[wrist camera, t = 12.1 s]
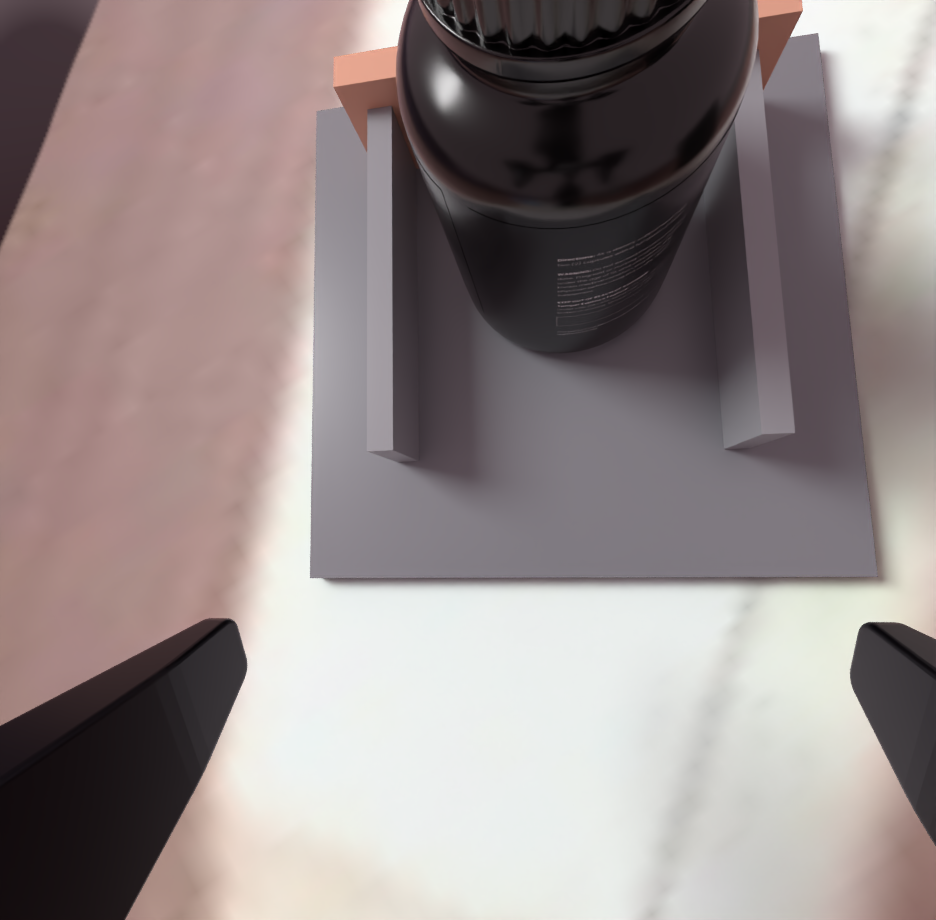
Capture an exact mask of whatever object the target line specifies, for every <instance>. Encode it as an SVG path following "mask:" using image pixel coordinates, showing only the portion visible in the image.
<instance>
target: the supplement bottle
mask: <svg viewBox="0 0 936 920" xmlns="http://www.w3.org/2000/svg"><path fill="white" fill-rule="evenodd" d="M758 34H759V13H758V1H757V0H409V2H408V5H407V9H406V12H405V15H404V18H403V22H402V26H401V31H400V35H399V41H398V48H397V57H396V88H397V99H398V104H399V108H400V113H401V117H402V120H403V123H404V126H405V130H406V133H407V136H408V139H409V142H410V145H411V148H412V150H413V153H414V155H415V158H416V161H417V163H418V166H419V168H420V171H421V173H422V176H423V179H424V181H425V184H426V186H427V189H428V191H429V194H430V196H431V199H432V202H433V204H434V207H435V209H436V212H437V214H438V217H439V220H440V222H441V225H442V227H443V230H444V232H445V235H446V237H447V240H448V243H449V245H450V248H451V250H452V253H453V255H454V258H455V260H456V263H457V266H458V268H459V271H460V273H461V276H462V278H463V281H464V283H465V286H466V288H467V290H468V292H469V295H470V297H471V299H472V301H473V303H474V305H475V307H476V308H477V310H478V312H479V313H480V314H481V316H482V317H483V318H484V320H485V321H486V322H487V323H488V324H489V325H490V326H491V327H492V328H493V329H494V330H495V331H496V332H498V333H499V334H500V335H502V336H503V337H504V338H506V339H508V340H510V341H511V342H513V343H515V344H518V345H520V346H522V347H525V348H528V349H531V350H535V351H540V352H547V353H572V352H578V351H583V350H587V349H591V348H594V347H597V346H599V345H602V344H604V343H606V342H608V341H610V340H612V339H614V338H616V337H617V336H619V335H620V334H622V333H623V332H625V331H626V330H628V329H629V328H630V327H631V326H632V325H633V324H635V323H636V322H637V321H638V320H639V319H640V318H641V317H642V315H643V314H644V313H645V312H646V310H647V309H648V308H649V307H650V305H651V303H652V302H653V300H654V299H655V297H656V296H657V294H658V292H659V290H660V288H661V286H662V284H663V282H664V280H665V278H666V276H667V273H668V271H669V269H670V267H671V264H672V262H673V260H674V258H675V255H676V253H677V251H678V248H679V246H680V244H681V242H682V239H683V237H684V235H685V232H686V230H687V228H688V226H689V223H690V221H691V219H692V216H693V214H694V212H695V210H696V207H697V205H698V203H699V200H700V198H701V196H702V194H703V191H704V189H705V187H706V184H707V182H708V180H709V178H710V175H711V173H712V171H713V168H714V166H715V164H716V162H717V159H718V157H719V155H720V152H721V150H722V148H723V146H724V143H725V141H726V139H727V136H728V134H729V132H730V129H731V127H732V125H733V123H734V120H735V118H736V115H737V113H738V110H739V108H740V105H741V103H742V100H743V98H744V94H745V92H746V89H747V86H748V83H749V81H750V77H751V74H752V70H753V66H754V63H755V57H756V51H757V45H758Z"/></svg>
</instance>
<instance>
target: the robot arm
mask: <svg viewBox="0 0 936 920" xmlns="http://www.w3.org/2000/svg"><path fill="white" fill-rule="evenodd" d="M246 672H247V658H246V655H245V651H244V648H243V644H242V640H241V637H240V633H239V630H238V626H237V624H236V623H235V621H233V620H232V619H229V618H209V619H205V620H203V621H201V622H199V623H197V624H195V625H193V626H191V627H189V628H187V629H185V630H183V631H181V632H180V633H178V634H176V635H174V636H172V637H170V638H168V639H166V640H164V641H162V642H160V643H158V644H157V645H155V646H153V647H151V648H149V649H147V650H145V651H143V652H141V653H139V654H137V655H135V656H133V657H132V658H130V659H128V660H126V661H124V662H122V663H120V664H118V665H116V666H114V667H112V668H110V669H108V670H107V671H105V672H103V673H101V674H99V675H97V676H95V677H93V678H91V679H89V680H87V681H85V682H83V683H82V684H80V685H78V686H76V687H74V688H72V689H70V690H68V691H66V692H64V693H62V694H60V695H59V696H57V697H55V698H53V699H51V700H49V701H47V702H45V703H43V704H41V705H39V706H37V707H35V708H34V709H32V710H30V711H28V712H26V713H24V714H22V715H20V716H18V717H16V718H14V719H12V720H10V721H9V722H7V723H5V724H3V725H1V726H0V920H125V919H126V917H127V916H128V914H129V912H130V910H131V908H132V906H133V904H134V903H135V901H136V899H137V897H138V895H139V893H140V891H141V890H142V888H143V886H144V884H145V882H146V880H147V878H148V877H149V875H150V873H151V871H152V869H153V867H154V865H155V863H156V862H157V860H158V858H159V856H160V854H161V852H162V850H163V849H164V847H165V845H166V843H167V841H168V839H169V837H170V836H171V834H172V832H173V830H174V828H175V826H176V824H177V823H178V821H179V819H180V817H181V815H182V813H183V811H184V810H185V808H186V806H187V804H188V802H189V800H190V798H191V797H192V795H193V793H194V791H195V789H196V787H197V785H198V783H199V781H200V779H201V777H202V775H203V773H204V771H205V769H206V767H207V764H208V762H209V760H210V758H211V756H212V753H213V751H214V749H215V746H216V744H217V742H218V739H219V737H220V735H221V732H222V730H223V728H224V725H225V723H226V721H227V718H228V716H229V714H230V711H231V709H232V707H233V704H234V702H235V700H236V697H237V695H238V693H239V690H240V688H241V686H242V683H243V681H244V679H245V676H246ZM850 679H851V684H852V687H853V690H854V692H855V694H856V696H857V698H858V700H859V702H860V704H861V706H862V708H863V710H864V712H865V714H866V716H867V718H868V720H869V722H870V724H871V726H872V728H873V730H874V732H875V734H876V736H877V738H878V740H879V742H880V744H881V746H882V748H883V750H884V752H885V754H886V756H887V758H888V760H889V762H890V764H891V766H892V768H893V770H894V772H895V774H896V776H897V778H898V780H899V782H900V784H901V786H902V788H903V790H904V792H905V794H906V796H907V798H908V800H909V802H910V803H911V805H912V807H913V809H914V811H915V813H916V814H917V816H918V818H919V819H920V821H921V823H922V824H923V826H924V828H925V829H926V831H927V833H928V834H929V836H930V838H931V839H932V841H933V842H934V844H935V846H936V639H934V638H932V637H929V636H927V635H925V634H923V633H921V632H919V631H917V630H915V629H912V628H910V627H908V626H906V625H904V624H901V623H896V622H868V623H865V624H863V625H862V626H861V628H860V629H859V632H858V636H857V641H856V645H855V650H854V655H853V660H852V664H851V669H850Z"/></svg>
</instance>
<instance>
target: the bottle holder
mask: <svg viewBox="0 0 936 920" xmlns="http://www.w3.org/2000/svg"><path fill="white" fill-rule="evenodd" d="M757 1H758V13H759V34H758V45H757V51H756V57H755V63H754V66H753V70H752V74H751V77H750V81H749V83H748V86H747V89H746V92H745V94H744V98H743V100H742V103H741V105H740V108H739V110H738V113H737V115H736V118H735V120H734V123H733V125H732V127H731V129H730V132H729V134H728V136H727V139H726V141H725V143H724V146H723V148H722V150H721V152H720V155H719V157H718V159H717V162H716V164H715V166H714V168H713V171H712V173H711V175H710V178H709V180H708V182H707V184H706V187H705V189H704V191H703V194H702V196H701V198H700V200H699V203H698V205H697V207H696V210H695V212H694V214H693V216H692V219H691V221H690V223H689V226H688V228H687V230H686V232H685V235H684V237H683V239H682V242H681V244H680V246H679V248H678V251H677V253H676V255H675V258H674V260H673V262H672V264H671V267H670V269H669V271H668V273H667V276H666V278H665V280H664V282H663V284H662V286H661V288H660V290H659V292H658V294H657V296H656V297H655V299H654V300H653V302H652V303H651V305H650V307H649V308H648V309H647V310H646V312H645V313H644V314H643V315H642V317H641V318H640V319H639V320H638V321H637V322H636V323H635V324H633V325H632V326H631V327H630V328H629V329H628V330H626V331H625V332H623V333H622V334H620V335H619V336H617V337H616V338H614V339H612V340H610V341H608V342H606V343H604V344H602V345H599V346H597V347H594V348H591V349H587V350H583V351H578V352H572V353H547V352H540V351H535V350H531V349H528V348H525V347H522V346H520V345H518V344H515V343H513V342H511V341H510V340H508V339H506V338H504V337H503V336H502V335H500V334H499V333H498V332H496V331H495V330H494V329H493V328H492V327H491V326H490V325H489V324H488V323H487V322H486V321H485V320H484V318H483V317H482V316H481V314H480V313H479V312H478V310H477V308H476V307H475V305H474V303H473V301H472V299H471V297H470V295H469V292H468V290H467V288H466V286H465V283H464V281H463V278H462V276H461V273H460V271H459V268H458V266H457V263H456V260H455V258H454V255H453V253H452V250H451V248H450V245H449V243H448V240H447V237H446V235H445V232H444V230H443V227H442V225H441V222H440V220H439V217H438V214H437V212H436V209H435V207H434V204H433V202H432V199H431V196H430V194H429V191H428V189H427V186H426V184H425V181H424V179H423V176H422V173H421V171H420V168H419V166H418V163H417V161H416V158H415V155H414V153H413V150H412V148H411V145H410V142H409V139H408V136H407V133H406V130H405V126H404V123H403V120H402V117H401V113H400V108H399V104H398V99H397V88H396V57H397V48H398V46H395V47H389V48H383V49H378V50H372V51H366V52H360V53H354V54H349V55H343V56H337V57H334V89H335V91H336V93H337V95H338V97H339V99H340V101H341V103H342V105H343V107H340V108H334V109H327V110H321V111H317V129H316V200H315V271H314V342H313V412H312V483H311V554H310V578H565V577H878V574H877V565H876V556H875V547H874V538H873V529H872V519H871V510H870V501H869V492H868V483H867V474H866V465H865V456H864V447H863V437H862V428H861V419H860V410H859V401H858V392H857V383H856V374H855V365H854V355H853V346H852V337H851V328H850V319H849V310H848V301H847V292H846V283H845V273H844V264H843V255H842V246H841V237H840V228H839V219H838V210H837V201H836V192H835V182H834V173H833V164H832V155H831V146H830V137H829V128H828V119H827V110H826V100H825V91H824V82H823V73H822V64H821V55H820V46H819V37H818V33H816V34H810V35H803V36H797V37H790V36H791V34H792V32H793V29H794V27H795V25H796V23H797V21H798V19H799V17H800V15H801V13H802V11H803V8H802V0H757Z"/></svg>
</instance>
